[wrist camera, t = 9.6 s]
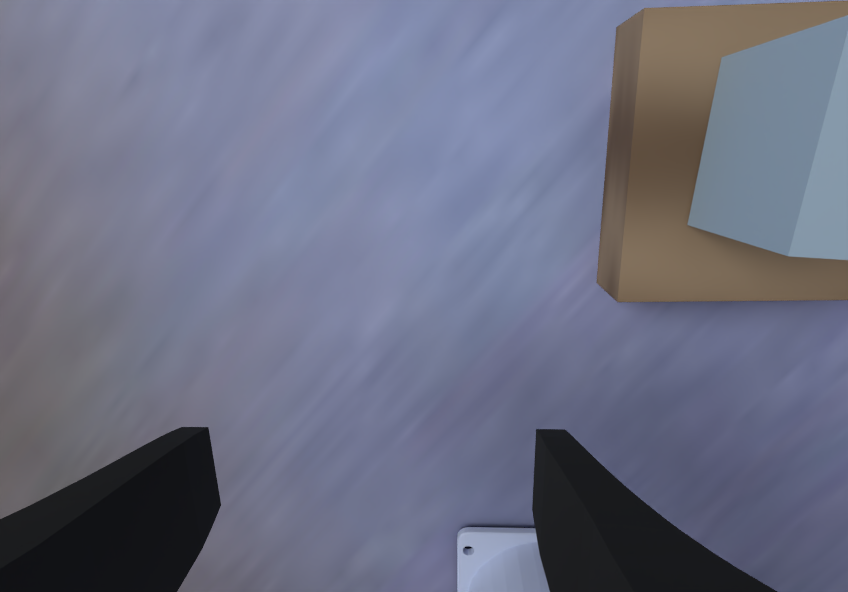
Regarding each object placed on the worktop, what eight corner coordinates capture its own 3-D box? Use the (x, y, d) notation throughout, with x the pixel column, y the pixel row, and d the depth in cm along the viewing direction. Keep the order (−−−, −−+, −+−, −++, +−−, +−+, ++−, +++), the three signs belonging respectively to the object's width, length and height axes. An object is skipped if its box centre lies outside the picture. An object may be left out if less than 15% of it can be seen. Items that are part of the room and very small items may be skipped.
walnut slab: (826, 276, 20) (890, 299, 17) (593, 279, 20) (617, 302, 17) (881, 20, 17) (968, -4, 14) (612, 30, 18) (644, 8, 15)
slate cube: (843, 234, 16) (1010, 270, 11) (687, 225, 16) (788, 255, 12) (893, 66, 15) (1106, 27, 10) (721, 57, 15) (852, 13, 10)
